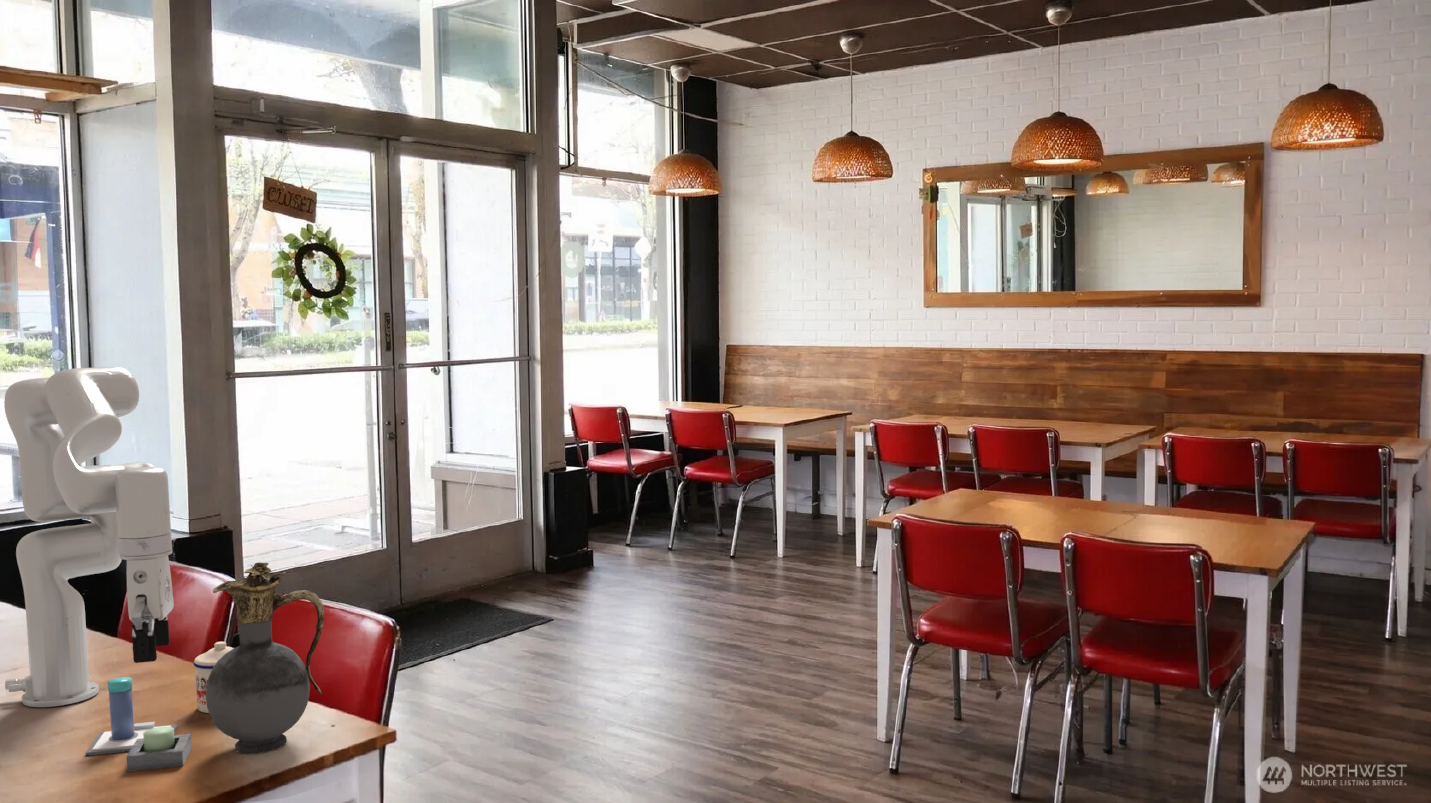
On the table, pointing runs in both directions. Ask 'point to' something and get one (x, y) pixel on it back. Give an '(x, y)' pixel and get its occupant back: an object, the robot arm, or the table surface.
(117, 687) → the cylinder
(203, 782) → the table surface
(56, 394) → the robot arm
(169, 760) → the button base
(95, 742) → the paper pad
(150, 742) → the button
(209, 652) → the teacup with lid
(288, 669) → the pitcher
